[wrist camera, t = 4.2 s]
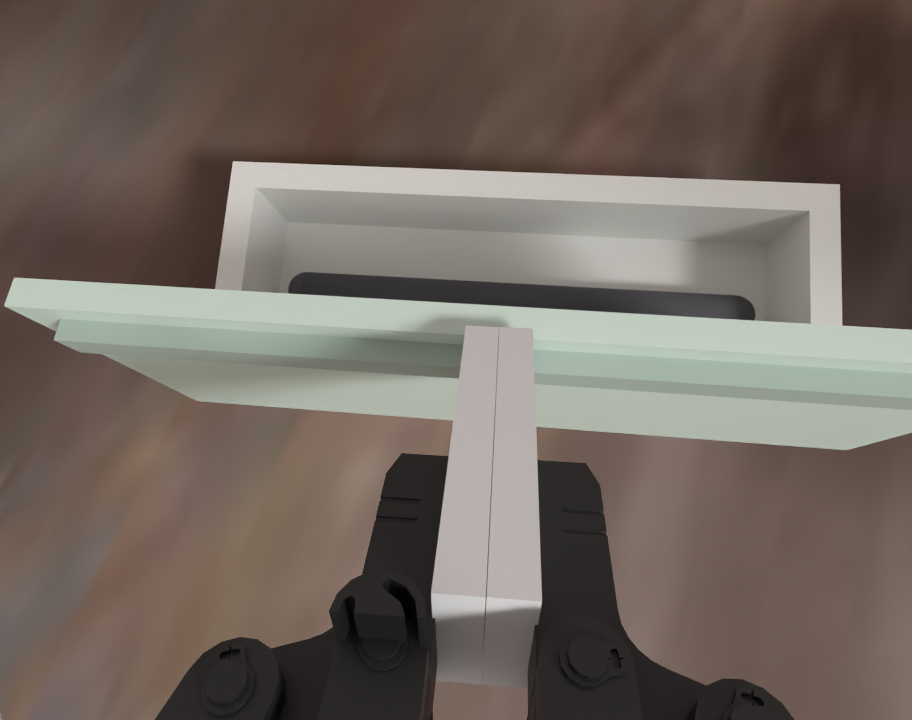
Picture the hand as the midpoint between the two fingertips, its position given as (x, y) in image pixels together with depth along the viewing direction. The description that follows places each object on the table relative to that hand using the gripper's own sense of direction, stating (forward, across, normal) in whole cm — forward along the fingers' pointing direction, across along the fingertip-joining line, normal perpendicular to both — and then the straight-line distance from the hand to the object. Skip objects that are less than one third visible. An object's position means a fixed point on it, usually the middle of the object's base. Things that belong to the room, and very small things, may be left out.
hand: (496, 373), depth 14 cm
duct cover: (+4, 0, -3) cm, 5 cm away
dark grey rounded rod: (+13, +1, -6) cm, 14 cm away
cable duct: (+14, +1, -7) cm, 15 cm away
